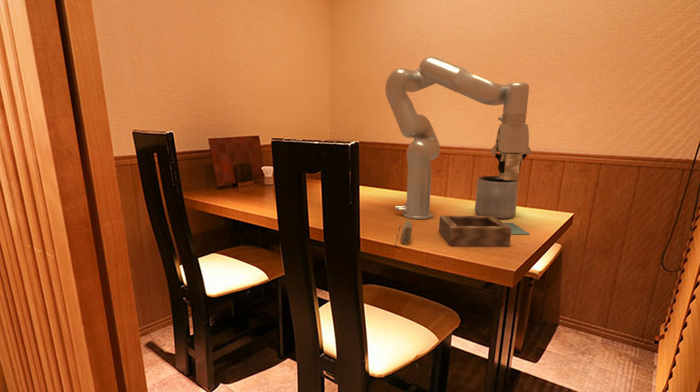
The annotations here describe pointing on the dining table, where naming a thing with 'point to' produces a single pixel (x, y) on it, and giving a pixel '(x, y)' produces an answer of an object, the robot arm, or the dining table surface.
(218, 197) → the dining table surface
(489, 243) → the box
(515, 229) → the mat
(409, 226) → the cuneiform tablet
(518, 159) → the beech block
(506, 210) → the planter
